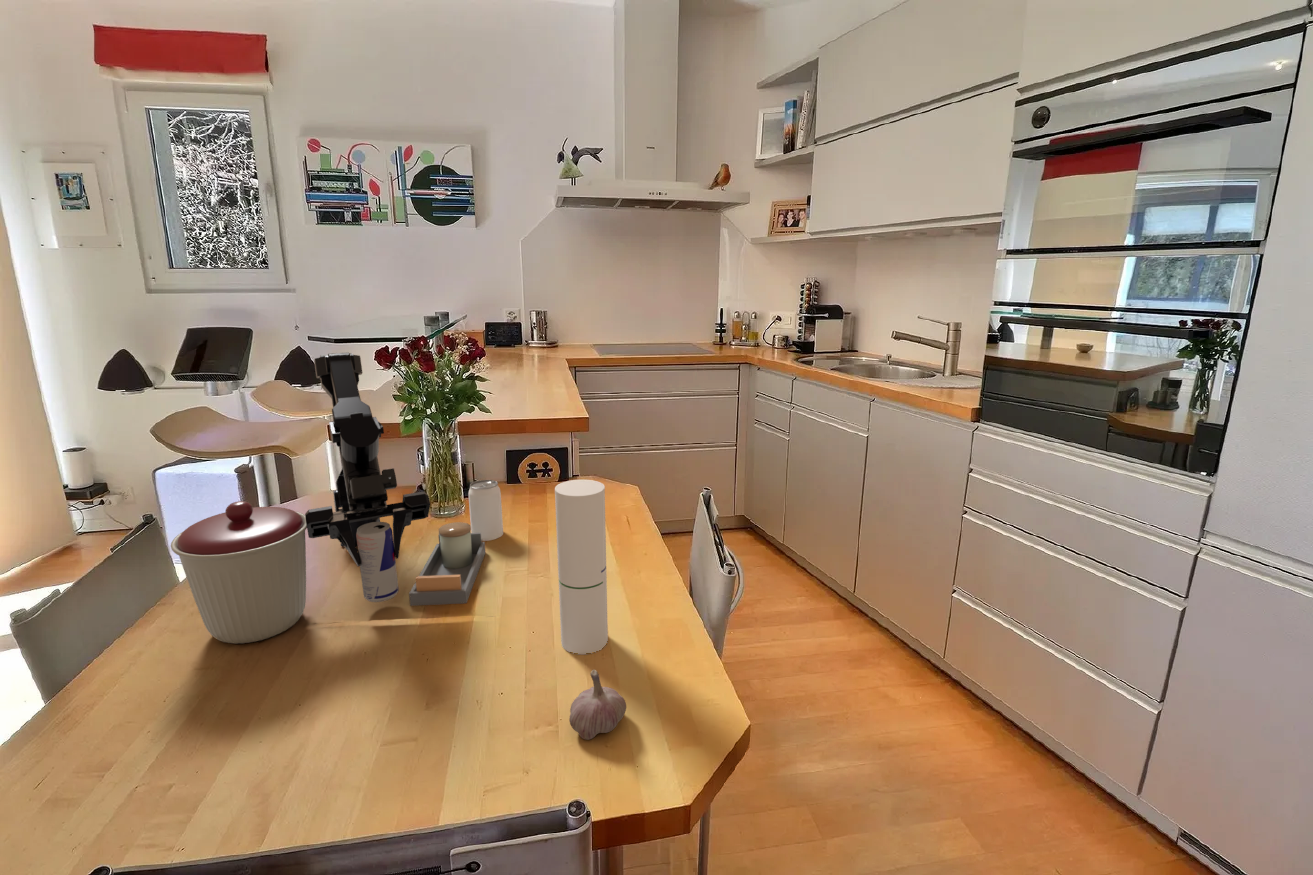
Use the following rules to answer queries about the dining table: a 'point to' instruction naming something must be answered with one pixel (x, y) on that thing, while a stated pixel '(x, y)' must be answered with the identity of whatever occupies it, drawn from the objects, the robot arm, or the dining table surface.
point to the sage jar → (456, 545)
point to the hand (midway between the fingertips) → (378, 561)
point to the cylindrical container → (582, 565)
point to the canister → (246, 570)
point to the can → (486, 509)
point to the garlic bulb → (596, 710)
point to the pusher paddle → (438, 583)
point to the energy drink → (377, 561)
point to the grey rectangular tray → (436, 568)
